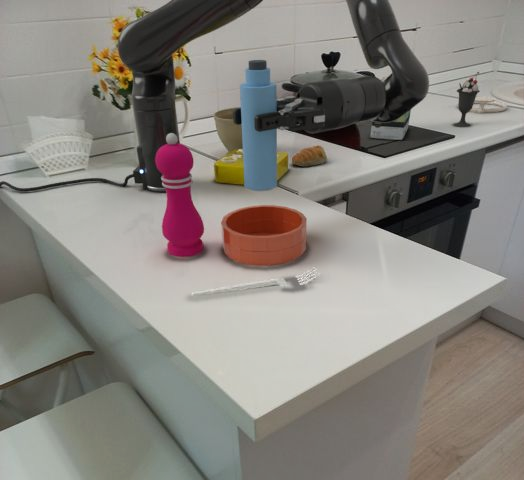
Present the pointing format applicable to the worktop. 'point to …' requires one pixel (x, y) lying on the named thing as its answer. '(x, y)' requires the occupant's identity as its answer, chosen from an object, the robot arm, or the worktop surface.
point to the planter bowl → (228, 129)
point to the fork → (260, 284)
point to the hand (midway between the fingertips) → (245, 120)
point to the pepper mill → (179, 200)
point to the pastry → (310, 156)
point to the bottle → (257, 143)
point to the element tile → (242, 167)
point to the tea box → (391, 127)
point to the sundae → (466, 99)
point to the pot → (264, 235)
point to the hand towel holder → (487, 101)
